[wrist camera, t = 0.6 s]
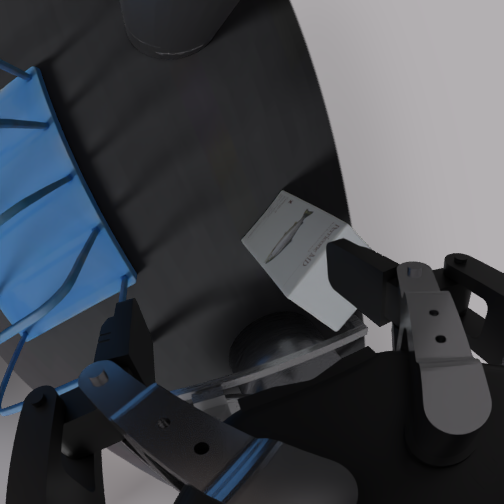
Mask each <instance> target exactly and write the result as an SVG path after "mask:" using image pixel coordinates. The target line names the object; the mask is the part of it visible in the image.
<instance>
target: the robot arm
mask: <svg viewBox="0 0 504 504" xmlns="http://www.w3.org/2000/svg"><path fill="white" fill-rule="evenodd" d="M119 1H120V5H121V10H122V15H123V20H124V24H125V28H126V32H127V35H128V38H129V40H130V42H131V43H132V44H133V46H134V47H135V48H136V49H138V50H139V51H140V52H142V53H144V54H146V55H147V56H150V57H154V58H157V59H167V60H169V59H179V58H183V57H187V56H189V55H192V54H194V53H196V52H198V51H199V50H201V49H202V48H204V47H205V46H206V45H207V44H208V43H209V42H210V41H211V40H212V38H213V37H214V35H215V34H216V32H217V31H218V30H219V28H220V27H221V26H222V24H223V23H224V21H225V20H226V19H227V17H228V16H229V14H230V13H231V12H232V10H233V9H234V8H235V6H236V5H237V4H238V2H239V1H240V0H119ZM326 257H327V271H328V280H329V283H330V285H331V287H332V288H333V289H334V290H335V291H336V292H337V293H338V294H340V295H341V296H342V297H343V298H345V299H346V300H347V301H348V302H350V303H351V304H352V305H353V306H355V307H356V308H357V309H358V310H359V311H361V312H362V313H363V314H364V315H366V316H367V317H368V318H369V319H370V320H372V321H373V322H374V323H376V324H377V325H378V326H379V327H381V326H383V325H385V324H387V323H389V322H392V347H393V351H385V352H380V353H375V352H374V351H373V350H372V349H371V348H370V347H369V346H367V347H365V348H363V349H361V350H359V351H357V352H355V353H353V354H351V355H348V356H346V357H344V358H342V359H340V360H339V361H337V362H336V363H335V364H333V365H332V366H330V367H329V368H328V369H326V370H325V371H324V372H322V373H321V374H319V375H318V376H317V377H315V378H313V379H311V380H308V381H303V382H298V383H293V384H287V385H282V386H276V387H271V388H269V389H266V390H263V391H260V392H257V393H254V394H251V395H248V396H245V397H242V398H239V399H237V401H238V404H239V406H240V410H239V411H237V412H235V413H234V414H232V415H231V416H229V417H228V418H227V419H226V420H224V421H223V422H222V421H220V420H218V419H216V418H214V417H212V416H211V415H209V414H207V413H205V412H203V411H202V410H200V409H198V408H196V407H194V406H193V405H191V404H189V403H188V402H186V401H184V400H182V399H181V398H179V397H177V396H176V395H174V394H173V393H171V392H169V391H168V390H166V389H165V388H163V387H161V386H160V385H158V384H156V383H155V371H154V354H153V343H152V339H151V335H150V332H149V330H148V327H147V325H146V323H145V320H144V318H143V315H142V313H141V310H140V308H139V305H138V303H137V301H136V299H135V298H133V299H129V300H125V301H122V302H118V303H117V304H116V308H115V313H114V317H110V318H108V319H107V320H106V321H105V323H104V324H103V325H102V327H101V331H100V336H99V340H98V344H97V349H96V354H95V359H94V363H93V364H91V365H89V366H88V367H86V368H85V369H84V370H83V371H82V372H81V374H80V376H79V378H78V385H79V386H78V387H76V388H74V389H72V390H70V391H68V392H65V393H63V394H61V395H59V394H58V393H57V392H56V390H55V389H54V388H53V387H51V386H41V387H38V388H36V389H34V390H33V391H32V392H30V393H29V394H28V396H27V397H26V398H25V400H24V403H23V406H22V410H21V414H20V418H19V422H18V426H17V431H16V435H15V440H14V446H13V450H12V456H11V462H10V468H9V476H8V484H7V493H6V504H105V495H104V485H103V474H102V457H101V450H102V449H104V448H106V447H109V446H111V445H113V444H115V443H117V442H119V441H121V442H122V443H123V444H124V445H125V446H126V447H128V448H129V449H130V450H131V451H132V452H133V453H134V454H135V455H136V456H137V457H138V458H140V459H141V460H142V461H143V462H144V463H145V464H146V465H148V466H149V467H150V468H151V469H152V470H153V471H155V472H156V473H157V474H158V475H159V476H160V477H162V478H163V479H164V480H165V481H166V482H167V483H168V484H170V485H171V486H172V487H173V488H175V489H176V490H177V491H179V492H180V493H179V495H178V497H177V498H176V500H175V502H174V504H504V273H502V272H500V271H498V270H496V269H494V268H492V267H490V266H488V265H486V264H484V263H483V262H481V261H479V260H477V259H475V258H473V257H470V256H468V255H465V254H460V253H453V254H449V255H447V256H446V257H445V261H444V268H441V269H436V270H432V269H431V268H430V267H429V266H428V265H426V264H424V263H421V262H405V263H402V264H398V263H396V262H394V261H392V260H391V259H389V258H387V257H385V256H382V255H381V254H379V253H376V252H375V251H373V250H371V249H369V248H367V247H363V246H359V245H357V244H355V243H353V242H351V241H349V240H347V239H345V238H342V239H338V240H335V241H332V242H328V243H327V245H326ZM471 292H473V293H475V294H476V295H478V296H480V297H481V298H483V299H484V300H485V301H486V303H487V306H488V311H487V315H486V318H485V319H484V318H483V317H481V316H480V315H478V314H477V313H475V312H474V311H472V310H471V309H469V308H468V304H469V299H470V295H471ZM471 350H473V351H474V352H475V353H476V354H477V355H479V356H480V357H481V358H482V359H484V360H485V361H486V362H487V363H488V364H485V363H481V362H480V360H479V359H475V358H474V357H473V356H472V353H471Z"/></svg>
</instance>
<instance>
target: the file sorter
mask: <svg viewBox="0 0 504 504" xmlns="http://www.w3.org/2000/svg"><path fill="white" fill-rule="evenodd" d="M0 69H2V70H4V71H7V72H9V73H11V74H13V75H16V76H18V77H17V78H15V79H14V80H13V81H11V82H10V83H9V84H8V85H6V86H5V87H4V88H3V89H1V90H0V309H1V310H2V312H3V313H4V315H5V316H6V317H7V319H8V320H9V321H10V323H11V324H12V325H11V326H9V327H8V328H6V329H5V330H3V331H2V332H1V333H0V344H1V343H2V342H4V341H6V340H7V339H9V338H11V337H12V336H14V335H15V334H17V333H19V334H20V335H21V336H22V337H21V339H20V341H19V343H18V345H17V347H16V350H15V352H14V354H13V356H12V359H11V361H10V363H9V366H8V368H7V371H6V373H5V375H4V378H3V381H2V383H1V386H0V415H2V416H7V415H11V414H14V413H16V412H19V411H21V410H22V406H23V403H24V401H23V402H20V403H18V404H15V405H12V406H9V407H7V408H4V409H1V402H2V398H3V395H4V392H5V389H6V386H7V384H8V381H9V378H10V376H11V373H12V371H13V368H14V365H15V363H16V361H17V358H18V356H19V354H20V351H21V349H22V347H23V345H24V342H25V341H27V342H28V341H30V340H32V339H33V338H35V337H37V336H39V335H41V334H42V333H44V332H46V331H48V330H49V329H51V328H53V327H55V326H57V325H59V324H60V323H62V322H64V321H66V320H68V319H69V318H71V317H73V316H75V315H77V314H79V313H80V312H82V311H84V310H86V309H88V308H90V307H91V306H93V305H95V304H97V303H99V302H101V301H103V300H104V299H106V298H108V297H110V296H112V295H114V294H116V293H118V292H120V296H119V302H122V301H125V300H126V295H127V287H129V286H131V285H133V284H134V283H136V279H137V273H136V272H135V270H134V268H133V267H132V265H131V263H130V262H129V260H128V259H127V257H126V255H125V254H124V252H123V250H122V249H121V247H120V245H119V243H118V242H117V240H116V238H115V236H114V235H113V233H112V231H111V229H110V227H109V226H108V224H107V222H106V220H105V218H104V216H103V215H102V213H101V211H100V209H99V207H98V205H97V203H96V201H95V199H94V197H93V195H92V193H91V191H90V189H89V187H88V185H87V183H86V181H85V179H84V177H83V175H82V173H81V171H80V169H79V167H78V165H77V162H76V160H75V158H74V156H73V154H72V151H71V149H70V147H69V145H68V142H67V140H66V138H65V135H64V133H63V131H62V128H61V126H60V123H59V121H58V118H57V116H56V113H55V111H54V108H53V105H52V103H51V100H50V97H49V94H48V92H47V89H46V86H45V83H44V80H43V77H42V74H41V71H40V69H39V68H37V67H35V66H33V67H30V68H29V69H28V70H26V71H25V72H24V71H22V70H20V69H19V68H17V67H15V66H13V65H11V64H9V63H7V62H5V61H3V60H1V59H0ZM78 386H79V385H78V379H75V380H73V381H71V382H68V383H66V384H64V385H62V386H59V387H57V388H55V390H56V392H57V393H58V394H59V395H61V394H63V393H65V392H68V391H70V390H72V389H74V388H76V387H78Z"/></svg>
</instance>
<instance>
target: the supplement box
mask: <svg viewBox="0 0 504 504" xmlns="http://www.w3.org/2000/svg"><path fill="white" fill-rule="evenodd" d="M342 238H345V239H347V240H349V241H351V242H353V243H355V244H357V245H359V246H363V247H367V248H369V249H371V248H370V247H369V246H368V245H367V244H366V243H365V242H364V241H363V240H362V238H361V237H360V236H359V235H358V234H357V233H356V232H355V231H354V230H353V228H352V227H351V226H350V225H349V224H347V223H346V222H344V221H342V220H340V219H338V218H336V217H335V216H333V215H331V214H329V213H327V212H325V211H323V210H321V209H320V208H318V207H316V206H314V205H312V204H310V203H308V202H306V201H304V200H302V199H300V198H298V197H296V196H294V195H292V194H290V193H288V192H286V191H284V190H282V191H281V192H280V193H279V195H278V196H277V197H276V199H275V200H274V201H273V203H272V204H271V205H270V206H269V208H268V209H267V210H266V211H265V213H264V214H263V215H262V216H261V217H260V219H259V220H258V221H257V222H256V223H255V225H254V226H253V227H252V228H251V229H250V231H249V232H248V233H247V234H246V235H245V236H244V237H243V238H242V240H241V241H242V243H243V244H244V245H245V247H246V248H247V249H248V250H249V251H250V252H251V254H252V255H253V256H254V257H255V259H256V260H257V261H258V262H259V263H260V265H261V266H262V267H263V268H264V269H265V271H266V272H267V273H268V275H269V276H270V277H271V278H272V280H273V281H274V282H275V283H276V285H277V286H278V287H279V288H280V290H281V291H282V292H283V294H284V295H285V296H286V297H287V298H288V299H290V300H291V301H293V302H294V303H296V304H297V305H298V306H300V307H301V308H303V309H304V310H306V311H307V312H308V313H310V314H311V315H313V316H314V317H315V318H317V319H318V320H320V321H321V322H322V323H324V324H325V325H327V326H328V327H330V328H331V329H332V330H334V331H338V330H339V329H340V328H341V327H342V326H343V325H344V324H345V322H346V321H347V320H348V319H349V318H350V317H351V315H352V314H353V313H354V312H355V311H356V310H357V308H356V307H355V306H353V305H352V304H351V303H350V302H348V301H347V300H346V299H345V298H343V297H342V296H341V295H340V294H338V293H337V292H336V291H335V290H334V289H333V288H332V287H331V285H330V283H329V280H328V271H327V257H326V245H327V243H328V242H332V241H335V240H338V239H342ZM371 250H372V249H371Z"/></svg>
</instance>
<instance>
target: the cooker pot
mask: <svg viewBox="0 0 504 504" xmlns="http://www.w3.org/2000/svg"><path fill="white" fill-rule="evenodd" d="M344 325H345V326H346V327H347V328H348V329H349V331H346V332H344V333H342V334H339V335H337V336H335V337H332V338H330V339H327V340H325V338H324V337H323V336H322V335H321V334H320V333H319V331H318V330H317V329H316V328H315V327H314V325H313V324H312V323H311V322H310V321H309V320H308V319H307V318H306V317H304V316H303V315H300V314H298V313H293V312H279V313H274V314H270V315H267V316H265V317H262V318H260V319H258V320H256V321H255V322H253V323H251V324H250V325H249V326H248V327H246V328H245V329H244V330H243V331H242V332H241V333H240V334H239V335H238V337H237V338H236V339H235V341H234V343H233V345H232V347H231V350H230V354H229V363H230V367H231V369H232V372H233V374H231V375H227V376H224V377H221V378H217V379H214V380H211V381H207V382H204V383H200V384H196V385H193V386H189V387H185V388H181V389H178V390H174V391H170V392H171V393H173V394H174V395H176V396H177V397H179V398H181V399H182V400H184V401H185V400H189V399H192V396H191V394H195V393H199V392H202V391H206V390H209V389H213V388H216V387H220V386H221V387H222V389H223V390H225V389H228V388H231V387H234V386H237V385H238V386H239V389H240V391H241V394H254V393H257V392H260V391H263V390H266V389H269V388H271V387H276V386H282V385H287V384H293V383H298V382H303V381H308V380H311V379H313V378H315V377H317V376H318V375H319V374H321V373H322V372H324V371H325V370H326V369H328V368H329V367H330V366H332V365H333V364H335V363H336V362H337V361H339V360H340V359H341V357H340V356H339V355H338V354H337V353H336V352H335V350H334V349H336V348H338V347H341V346H343V345H345V344H347V343H349V342H352V341H354V340H356V339H358V338H360V337H362V336H365V335H366V334H367V331H368V327H366V325H365V324H364V323H363V322H362V321H361V320H360V319H359V318H358V317H357V316H356V315H355V314H354V313H353V314H352V315H351V317H350V318H349V319H348V320H347V321H346V322H345V324H344Z"/></svg>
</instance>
